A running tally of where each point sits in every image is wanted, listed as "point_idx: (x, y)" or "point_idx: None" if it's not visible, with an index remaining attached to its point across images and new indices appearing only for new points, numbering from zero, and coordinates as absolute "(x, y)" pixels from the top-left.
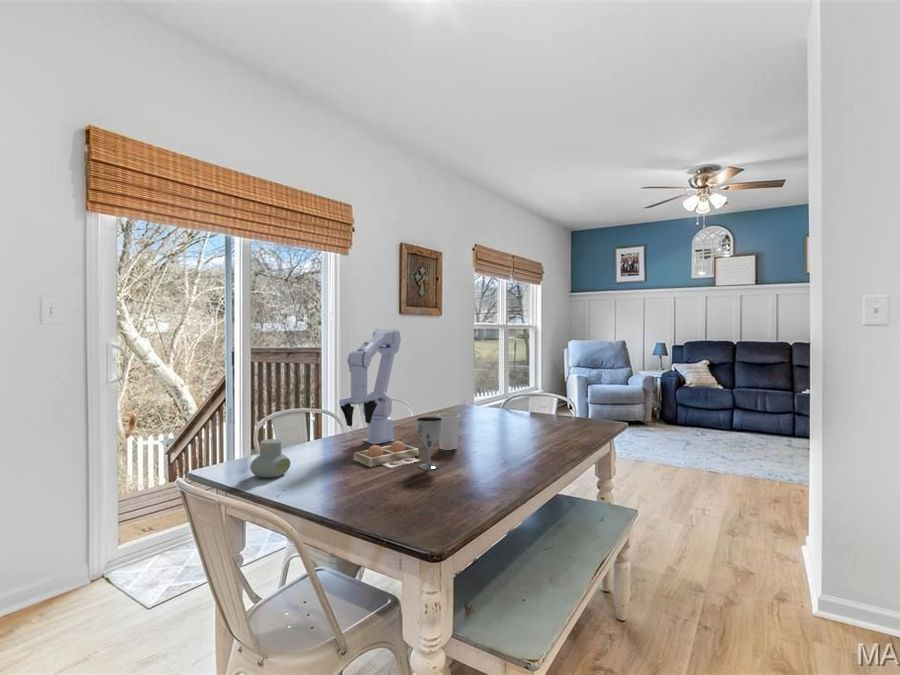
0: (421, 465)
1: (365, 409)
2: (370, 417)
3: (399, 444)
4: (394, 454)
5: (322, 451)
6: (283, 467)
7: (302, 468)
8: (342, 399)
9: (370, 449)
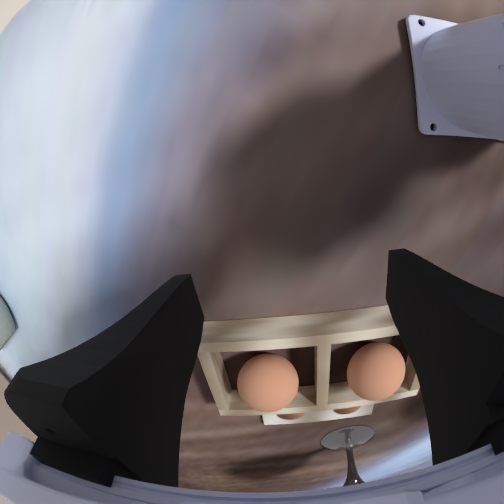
0: (337, 437)
1: (456, 324)
2: (409, 342)
3: (371, 400)
4: (316, 409)
5: (117, 106)
6: (6, 341)
7: (41, 301)
8: (10, 500)
9: (243, 399)
